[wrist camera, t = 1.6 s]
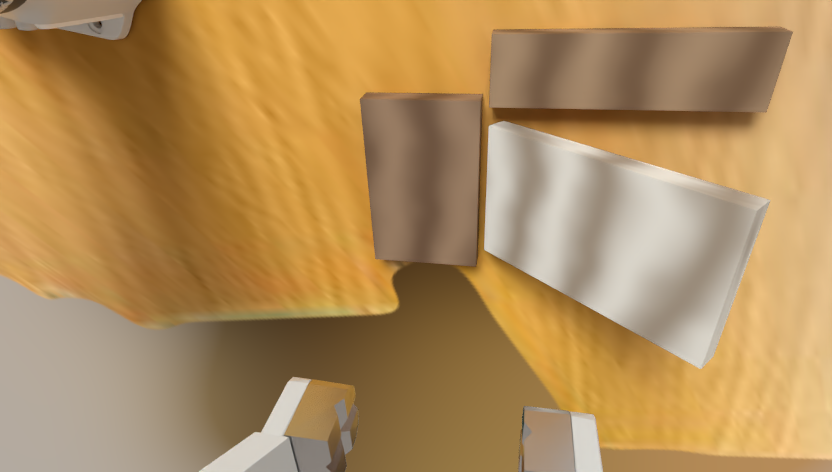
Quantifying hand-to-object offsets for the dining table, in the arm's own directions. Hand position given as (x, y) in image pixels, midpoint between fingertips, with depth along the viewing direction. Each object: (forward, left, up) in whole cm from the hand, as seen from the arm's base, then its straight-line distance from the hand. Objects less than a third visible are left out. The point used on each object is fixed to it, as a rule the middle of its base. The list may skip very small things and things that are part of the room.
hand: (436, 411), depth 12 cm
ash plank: (+8, -10, -27) cm, 30 cm away
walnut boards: (+4, -7, -34) cm, 35 cm away
